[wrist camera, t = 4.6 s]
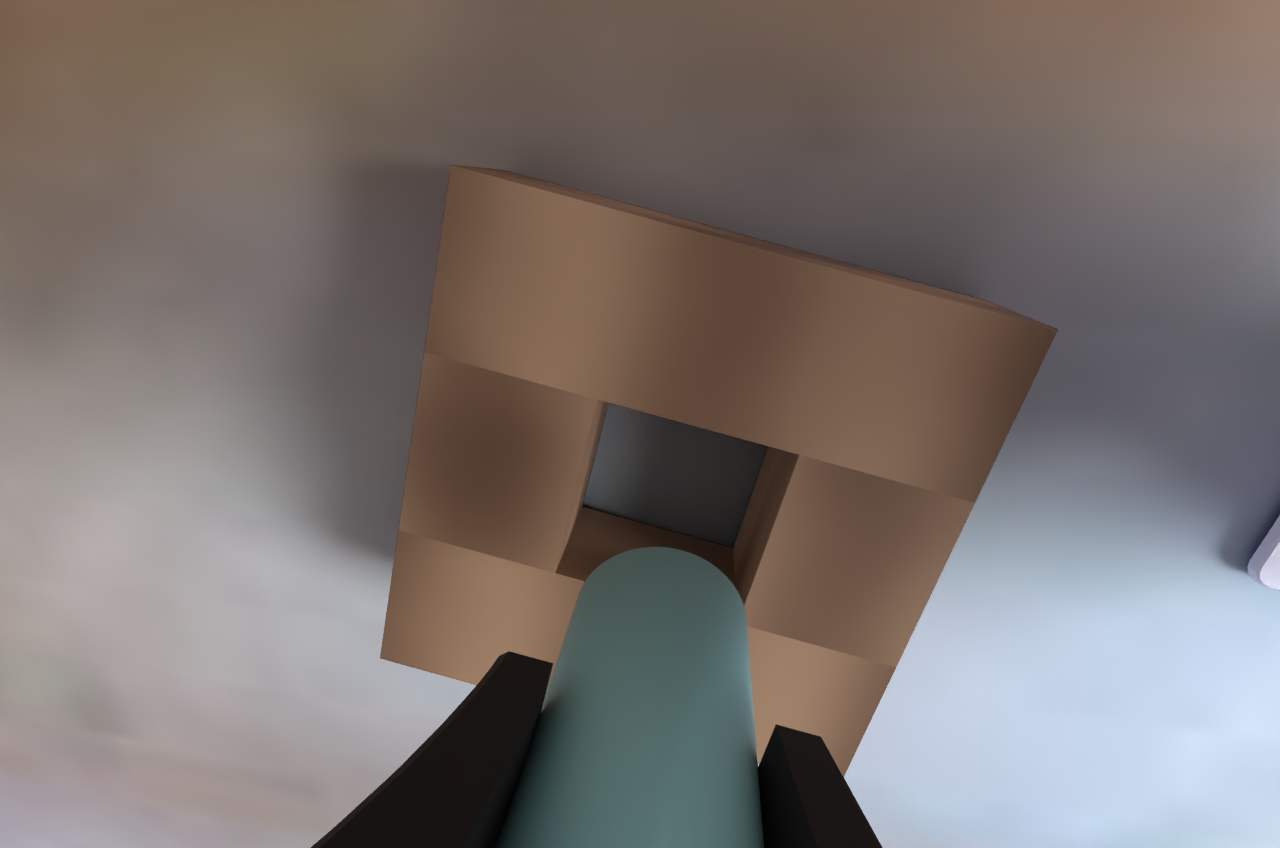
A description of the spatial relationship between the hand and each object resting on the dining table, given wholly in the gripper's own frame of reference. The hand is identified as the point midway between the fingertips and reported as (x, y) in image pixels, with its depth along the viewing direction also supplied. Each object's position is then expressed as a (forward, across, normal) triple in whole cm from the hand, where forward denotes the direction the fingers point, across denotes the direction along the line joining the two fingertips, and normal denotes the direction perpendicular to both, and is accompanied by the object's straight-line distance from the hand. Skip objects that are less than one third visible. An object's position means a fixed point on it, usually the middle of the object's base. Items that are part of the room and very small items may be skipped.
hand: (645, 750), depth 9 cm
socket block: (+10, 0, 0) cm, 10 cm away
